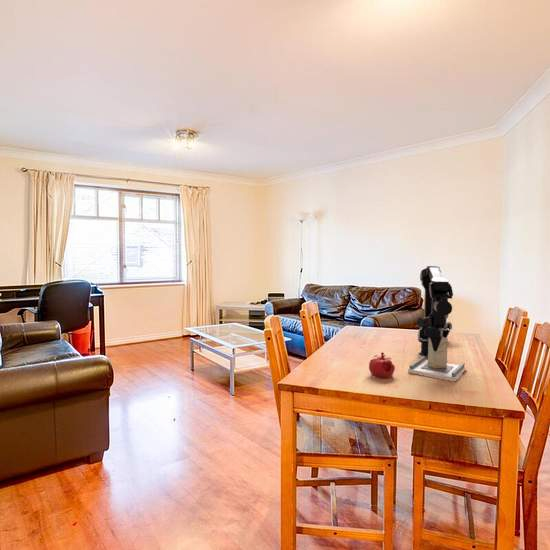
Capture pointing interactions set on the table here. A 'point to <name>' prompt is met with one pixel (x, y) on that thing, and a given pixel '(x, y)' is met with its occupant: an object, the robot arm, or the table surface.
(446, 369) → the stand
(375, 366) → the pomegranate
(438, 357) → the skincare box
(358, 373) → the table surface
